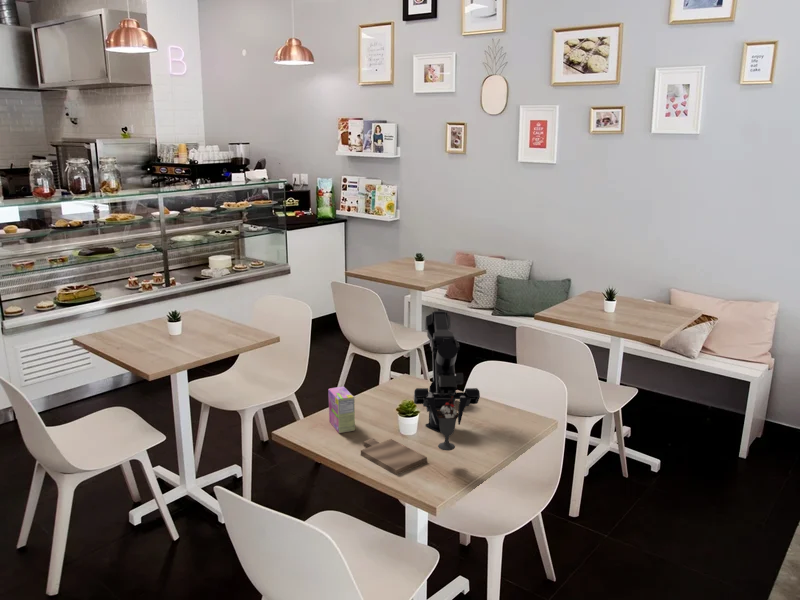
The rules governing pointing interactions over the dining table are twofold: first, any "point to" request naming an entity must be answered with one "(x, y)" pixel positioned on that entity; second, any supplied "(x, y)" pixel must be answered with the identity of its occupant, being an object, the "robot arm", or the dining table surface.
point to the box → (341, 409)
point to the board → (392, 455)
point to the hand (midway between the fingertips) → (447, 424)
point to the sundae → (447, 424)
